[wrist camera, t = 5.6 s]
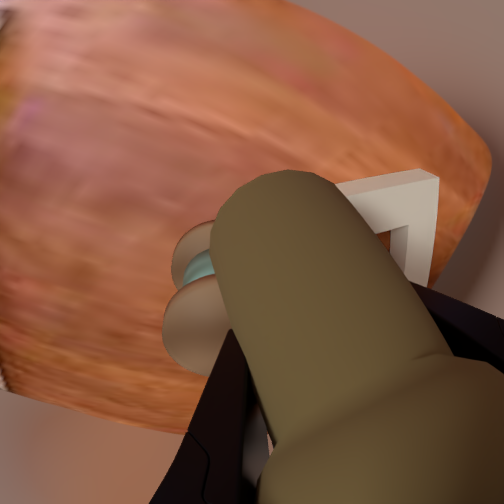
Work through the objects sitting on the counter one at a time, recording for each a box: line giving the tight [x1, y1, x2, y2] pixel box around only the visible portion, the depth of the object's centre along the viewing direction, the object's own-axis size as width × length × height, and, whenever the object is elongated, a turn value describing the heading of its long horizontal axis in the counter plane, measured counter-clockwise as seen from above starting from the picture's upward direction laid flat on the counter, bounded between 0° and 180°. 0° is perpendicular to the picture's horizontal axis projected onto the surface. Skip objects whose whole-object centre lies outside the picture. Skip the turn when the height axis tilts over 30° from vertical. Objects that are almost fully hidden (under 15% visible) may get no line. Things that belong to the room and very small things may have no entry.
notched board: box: [335, 168, 439, 287], centre depth 22 cm, size 14×10×2 cm
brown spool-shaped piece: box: [162, 220, 232, 376], centre depth 18 cm, size 7×7×8 cm
